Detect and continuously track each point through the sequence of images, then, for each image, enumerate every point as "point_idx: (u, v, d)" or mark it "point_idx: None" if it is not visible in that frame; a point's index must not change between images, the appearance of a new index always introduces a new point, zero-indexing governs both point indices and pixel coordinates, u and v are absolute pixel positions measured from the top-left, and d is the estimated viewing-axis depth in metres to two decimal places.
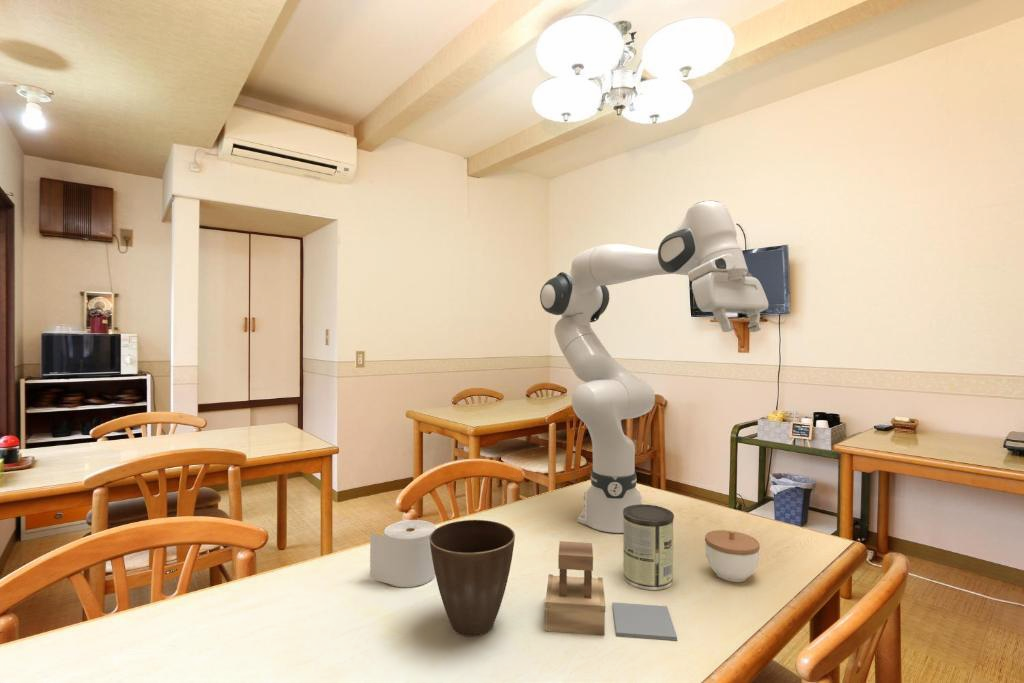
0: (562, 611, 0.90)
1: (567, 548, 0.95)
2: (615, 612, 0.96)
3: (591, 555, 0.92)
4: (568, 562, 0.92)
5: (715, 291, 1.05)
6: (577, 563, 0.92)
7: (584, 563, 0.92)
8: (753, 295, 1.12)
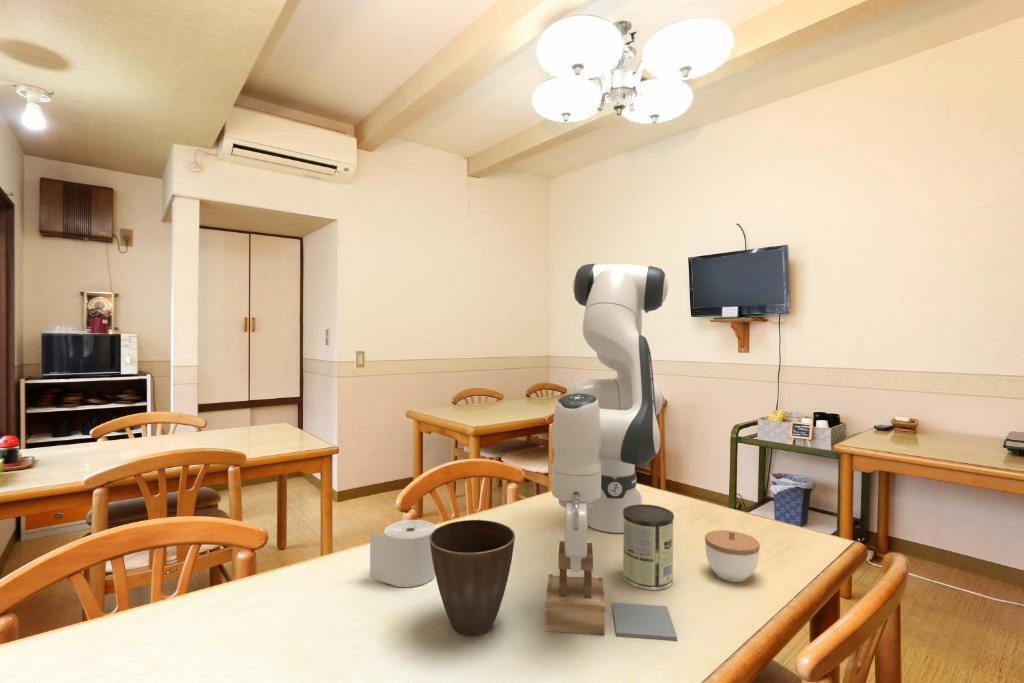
0: (562, 611, 0.90)
1: None
2: (615, 612, 0.96)
3: (591, 555, 0.92)
4: (568, 562, 0.92)
5: None
6: None
7: (584, 563, 0.92)
8: None
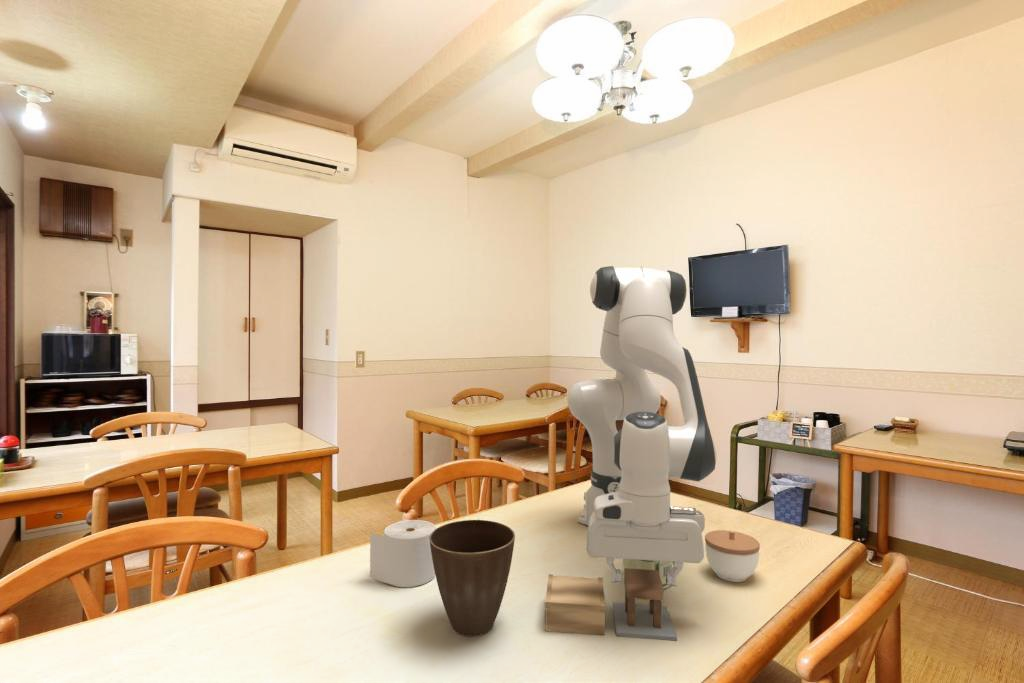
0: (562, 611, 0.90)
1: (644, 580, 0.92)
2: (615, 612, 0.96)
3: (655, 570, 0.96)
4: None
5: (598, 540, 0.93)
6: None
7: None
8: (673, 546, 0.91)
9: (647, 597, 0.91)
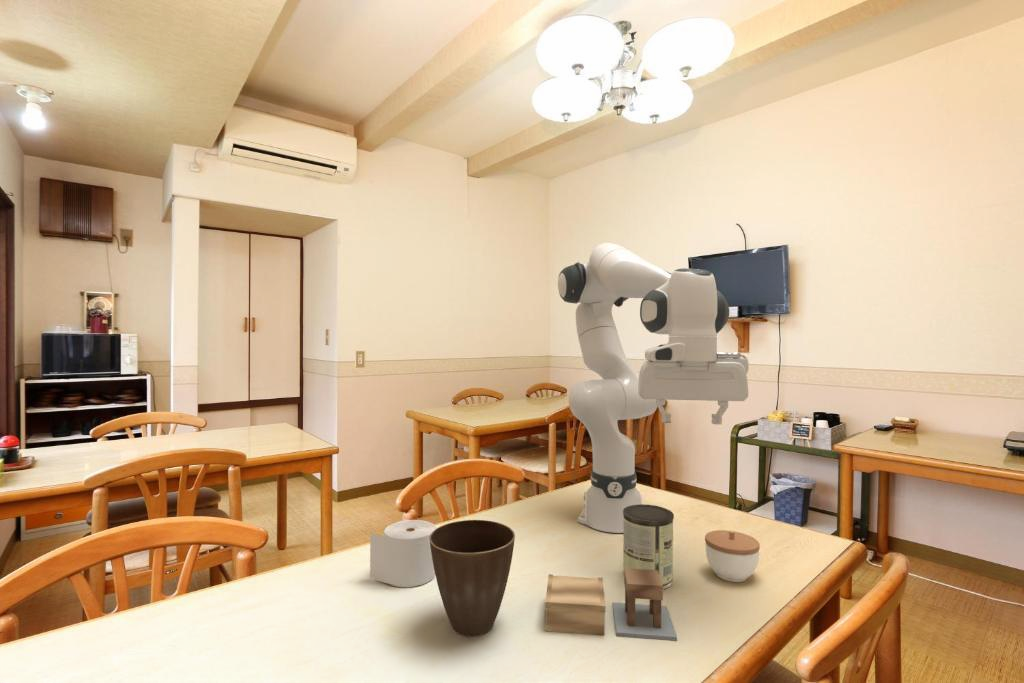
0: (562, 611, 0.90)
1: (644, 580, 0.92)
2: (615, 612, 0.96)
3: (655, 570, 0.96)
4: None
5: (650, 383, 1.01)
6: None
7: None
8: (720, 386, 0.99)
9: (647, 597, 0.91)
